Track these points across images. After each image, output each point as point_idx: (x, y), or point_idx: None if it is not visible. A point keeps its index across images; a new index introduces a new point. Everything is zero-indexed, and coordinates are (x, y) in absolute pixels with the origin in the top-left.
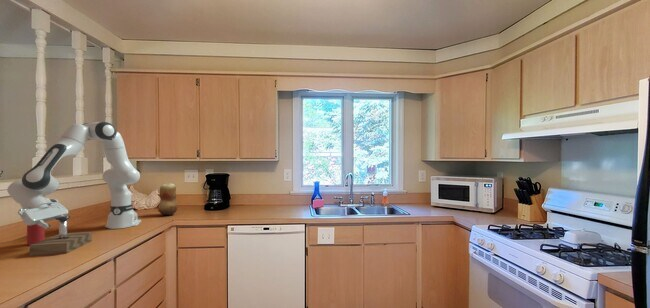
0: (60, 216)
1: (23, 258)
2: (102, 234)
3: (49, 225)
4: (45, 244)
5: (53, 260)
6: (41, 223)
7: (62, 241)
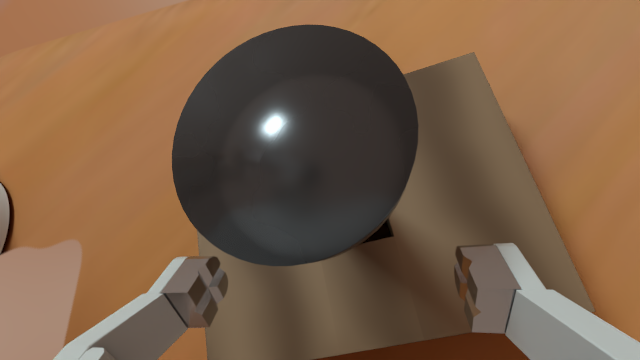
0: (257, 215)
1: (595, 286)
2: (105, 212)
3: (476, 252)
4: (533, 183)
5: (581, 53)
6: (630, 357)
7: (439, 121)
